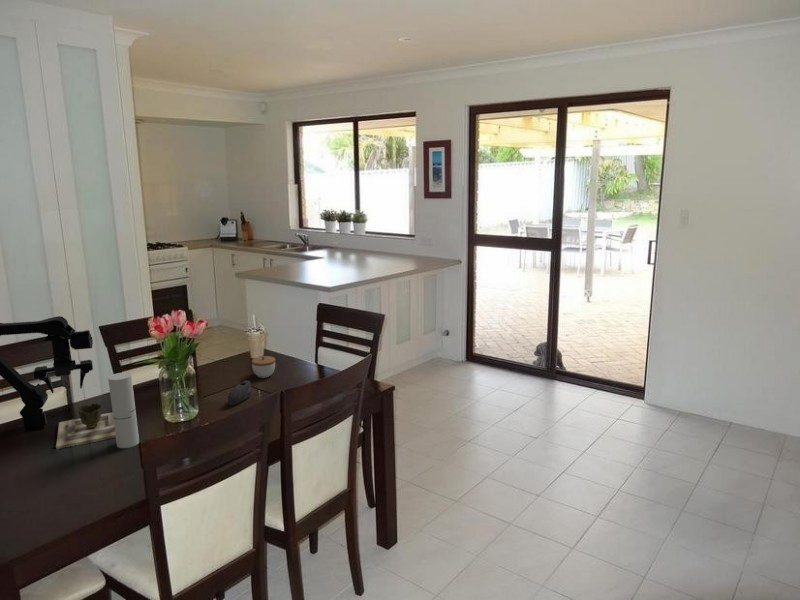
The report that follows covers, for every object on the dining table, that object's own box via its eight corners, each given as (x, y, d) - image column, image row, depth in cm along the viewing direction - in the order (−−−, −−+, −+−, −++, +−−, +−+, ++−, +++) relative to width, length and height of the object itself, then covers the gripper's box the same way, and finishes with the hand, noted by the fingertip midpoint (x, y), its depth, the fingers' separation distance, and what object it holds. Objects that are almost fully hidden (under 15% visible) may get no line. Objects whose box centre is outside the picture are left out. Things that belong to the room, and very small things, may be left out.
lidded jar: (273, 379, 258) (272, 360, 256) (249, 379, 259) (248, 360, 257) (278, 371, 269) (277, 352, 267) (256, 371, 269) (254, 352, 267)
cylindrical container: (143, 440, 201) (136, 373, 195) (128, 449, 194) (119, 380, 188) (127, 437, 203) (119, 371, 197) (112, 446, 196) (103, 378, 191)
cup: (80, 433, 204) (77, 412, 202) (80, 425, 210) (78, 405, 208) (103, 429, 207) (100, 409, 205) (103, 421, 214) (100, 401, 212)
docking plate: (56, 449, 194) (55, 442, 194) (59, 424, 213) (58, 418, 213) (127, 435, 204) (126, 428, 204) (124, 413, 223) (123, 407, 223)
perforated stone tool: (234, 409, 227) (232, 392, 225) (223, 407, 228) (221, 391, 227) (255, 395, 241) (254, 380, 239) (245, 393, 242) (243, 378, 241)
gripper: (29, 361, 198) (36, 402, 201) (89, 353, 206) (95, 393, 210) (32, 352, 207) (38, 392, 211) (89, 345, 216) (95, 383, 219)
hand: (67, 390), depth 212 cm, fingers open, 9 cm apart
